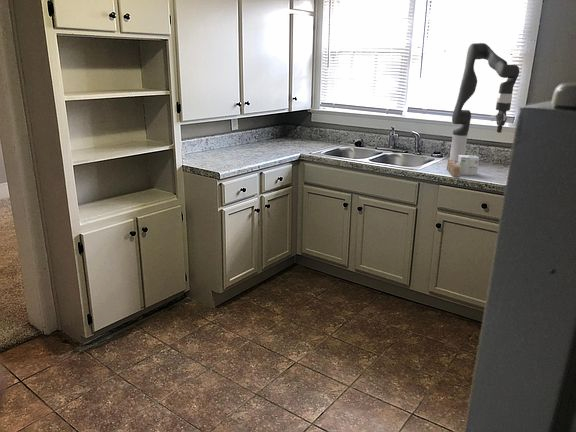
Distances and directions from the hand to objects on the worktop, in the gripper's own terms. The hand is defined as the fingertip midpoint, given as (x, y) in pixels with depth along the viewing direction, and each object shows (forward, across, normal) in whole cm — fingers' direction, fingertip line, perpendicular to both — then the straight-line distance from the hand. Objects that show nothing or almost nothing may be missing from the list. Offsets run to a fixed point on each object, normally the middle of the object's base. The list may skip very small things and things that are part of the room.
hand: (498, 132), depth 276 cm
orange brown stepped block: (+25, +1, -23) cm, 34 cm away
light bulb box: (+25, +1, -15) cm, 29 cm away
